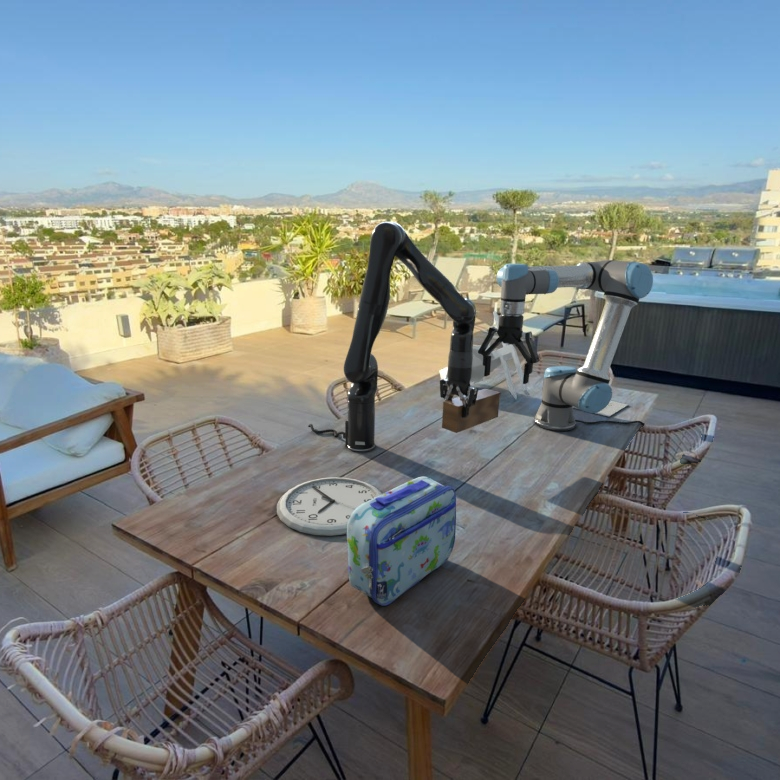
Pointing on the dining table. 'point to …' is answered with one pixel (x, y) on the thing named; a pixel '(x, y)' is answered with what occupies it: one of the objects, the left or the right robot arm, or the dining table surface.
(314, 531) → the wall clock
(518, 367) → the white plastic object
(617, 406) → the invitation card
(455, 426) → the box
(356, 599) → the dining table surface
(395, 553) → the lunch box
